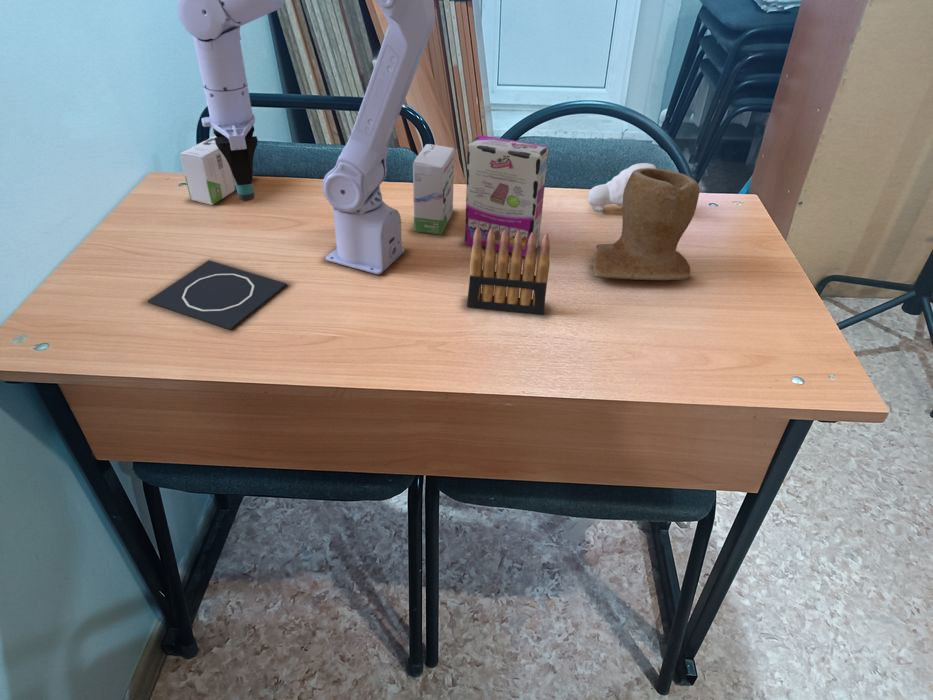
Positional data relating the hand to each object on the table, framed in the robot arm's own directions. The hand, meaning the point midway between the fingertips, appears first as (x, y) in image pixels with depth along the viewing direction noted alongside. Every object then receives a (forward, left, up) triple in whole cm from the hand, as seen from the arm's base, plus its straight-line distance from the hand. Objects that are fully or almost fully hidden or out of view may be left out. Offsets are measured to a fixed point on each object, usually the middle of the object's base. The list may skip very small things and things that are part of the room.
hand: (243, 179), depth 96 cm
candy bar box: (-35, -16, -10) cm, 40 cm away
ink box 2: (-22, -18, -10) cm, 31 cm away
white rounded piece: (-49, -37, -10) cm, 63 cm away
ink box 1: (+16, -6, -6) cm, 18 cm away
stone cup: (-56, -19, -10) cm, 61 cm away
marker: (0, 0, -3) cm, 3 cm away
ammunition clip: (-42, 0, -10) cm, 44 cm away
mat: (-5, +15, -10) cm, 19 cm away
